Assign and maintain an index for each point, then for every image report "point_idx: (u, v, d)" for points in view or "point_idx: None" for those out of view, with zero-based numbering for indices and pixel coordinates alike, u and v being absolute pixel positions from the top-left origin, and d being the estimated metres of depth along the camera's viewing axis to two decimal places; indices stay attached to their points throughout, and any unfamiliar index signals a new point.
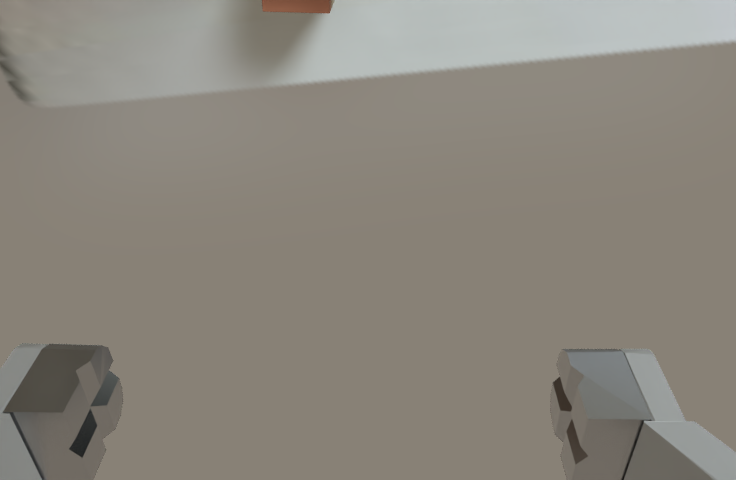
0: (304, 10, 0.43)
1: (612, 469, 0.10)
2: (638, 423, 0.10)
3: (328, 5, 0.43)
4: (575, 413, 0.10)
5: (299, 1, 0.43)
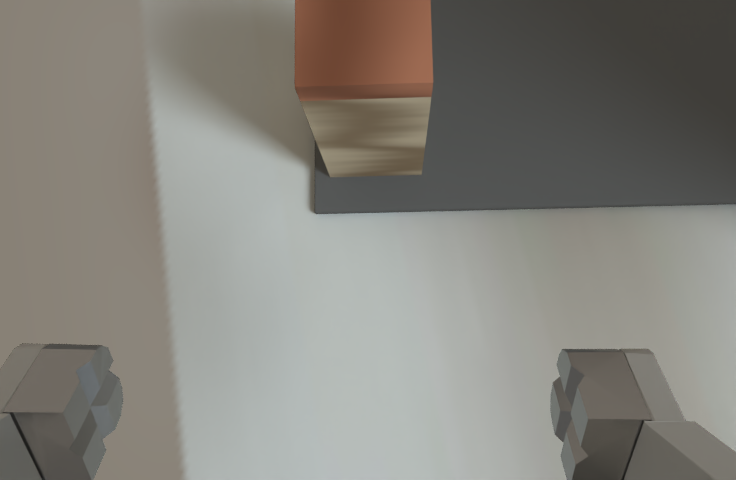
0: (299, 38, 0.21)
1: (612, 469, 0.10)
2: (638, 423, 0.10)
3: (310, 85, 0.21)
4: (575, 412, 0.10)
5: (315, 29, 0.21)
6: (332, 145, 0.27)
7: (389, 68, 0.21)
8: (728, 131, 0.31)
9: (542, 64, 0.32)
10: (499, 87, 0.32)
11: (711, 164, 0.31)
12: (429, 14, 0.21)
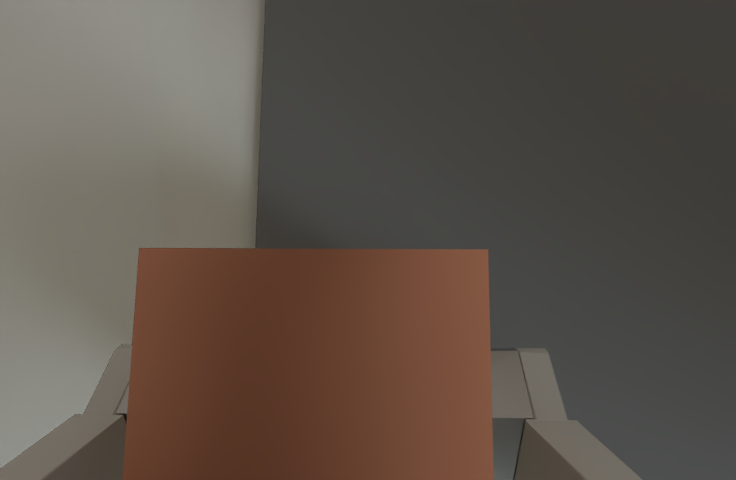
0: (134, 476, 0.08)
1: (503, 468, 0.10)
2: (520, 422, 0.10)
3: None
4: None
5: (179, 450, 0.08)
6: None
7: None
8: None
9: (640, 276, 0.19)
10: (567, 315, 0.19)
11: None
12: (488, 420, 0.08)
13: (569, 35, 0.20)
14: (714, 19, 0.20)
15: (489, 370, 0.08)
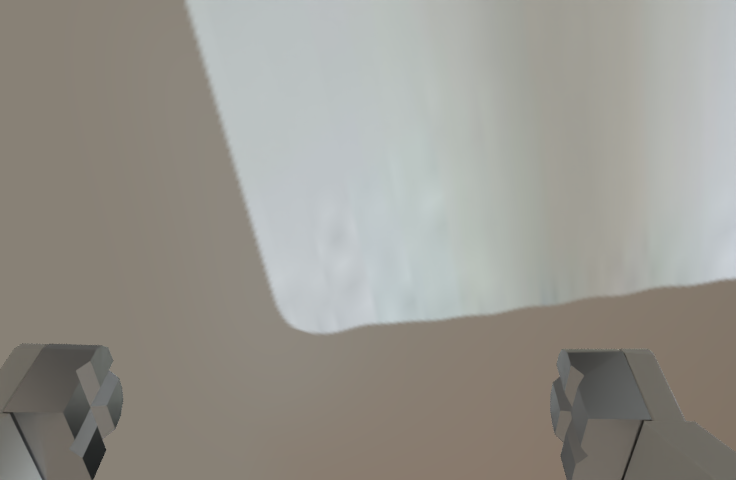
0: None
1: (612, 469, 0.10)
2: (638, 423, 0.10)
3: None
4: (575, 413, 0.10)
5: None
6: None
7: None
8: None
9: None
10: None
11: None
12: None
13: None
14: None
15: None
